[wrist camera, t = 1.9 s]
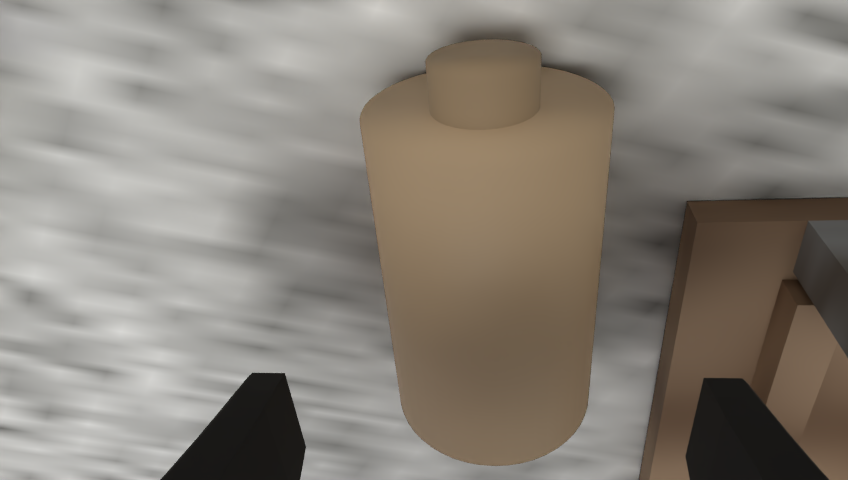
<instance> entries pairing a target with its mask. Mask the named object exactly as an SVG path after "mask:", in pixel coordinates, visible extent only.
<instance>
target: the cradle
mask: <svg viewBox="0 0 848 480" xmlns="http://www.w3.org/2000/svg"><path fill="white" fill-rule="evenodd" d="M704 378H743V379H744V380H745V381H746V382H747V383H748V384H749V385H750V387H751V388H752V389H753V390H754V392H755V393H756V394H757V395H758V396H759V398H760V399H761V400H762V401H763V403H764V404H765V405H766V406H767V407H768V409H769V410H770V411H771V412H772V414H773V415H774V416H775V417H776V418H777V420H778V421H779V422H780V423H781V424H782V426H783V427H784V428H785V429H786V430H787V432H788V433H789V434H790V435H791V436H792V438H793V439H794V440H795V441H796V442H797V443H798V445H799V446H800V447H801V448H802V449H803V450H804V452H805V453H806V454H807V455H808V456H809V457H810V459H811V460H812V461H813V462H814V463H815V464H816V465H817V467H818V468H819V469H820V470H821V471H822V472H823V473H824V474H825V475H826V477H827V478H828V479H829V480H848V198H820V199H774V200H729V201H687V206H686V211H685V217H684V223H683V229H682V235H681V240H680V246H679V252H678V258H677V263H676V269H675V275H674V281H673V287H672V292H671V298H670V304H669V310H668V315H667V321H666V327H665V333H664V339H663V344H662V350H661V356H660V362H659V368H658V373H657V379H656V385H655V391H654V396H653V402H652V408H651V414H650V420H649V425H648V431H647V437H646V443H645V448H644V454H643V460H642V466H641V472H640V477H639V480H690V478H689V473H688V468H687V462H686V457H685V456H686V452H687V447H688V443H689V439H690V434H691V430H692V426H693V422H694V417H695V413H696V409H697V404H698V400H699V396H700V392H701V387H702V383H703V379H704Z"/></svg>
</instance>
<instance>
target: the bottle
mask: <svg viewBox="0 0 848 480" xmlns="http://www.w3.org/2000/svg"><path fill="white" fill-rule="evenodd" d="M614 109H615V107H614V103H613V100H612V98H611V97H610V95H609V94H608V93H607V92H606V91H605V90H604V89H603V88H602V87H600V86H599V85H597V84H596V83H594V82H592V81H590V80H588V79H586V78H584V77H581V76H579V75H576V74H573V73H569V72H566V71H562V70H557V69H553V68H547V67H541V52H540V51H539V50H538V49H537V48H536V47H534V46H532V45H529V44H526V43H523V42H518V41H512V40H500V39H486V40H473V41H466V42H460V43H455V44H451V45H448V46H445V47H442V48H440V49H438V50H436V51H434V52H432V53H431V54H430V55H429V56H428V57H427V58H426V73H425V74H421V75H417V76H414V77H411V78H408V79H406V80H403V81H401V82H398V83H396V84H394V85H392V86H390V87H388V88H386V89H384V90H383V91H381V92H379V93H378V94H377V95H375V96H374V97H373V98H372V99H370V100H369V102H368V103H367V104H366V105H365V106H364V108H363V110H362V112H361V115H360V127H361V134H362V141H363V147H364V154H365V161H366V168H367V175H368V181H369V188H370V195H371V202H372V209H373V215H374V222H375V229H376V236H377V243H378V249H379V256H380V263H381V270H382V277H383V283H384V290H385V297H386V304H387V311H388V317H389V324H390V331H391V338H392V345H393V351H394V358H395V365H396V372H397V378H398V385H399V392H400V399H401V405H402V409H403V412H404V415H405V417H406V419H407V421H408V423H409V424H410V426H411V427H412V429H413V430H414V432H415V433H416V434H417V435H418V436H419V437H420V438H421V439H422V440H423V441H425V442H426V443H427V444H428V445H430V446H431V447H432V448H434V449H436V450H437V451H439V452H441V453H443V454H445V455H447V456H449V457H452V458H454V459H457V460H460V461H464V462H467V463H473V464H478V465H489V466H503V465H513V464H520V463H524V462H528V461H531V460H535V459H537V458H539V457H542V456H544V455H547V454H548V453H550V452H552V451H554V450H555V449H557V448H558V447H560V446H561V445H562V444H564V443H565V442H566V441H567V440H568V439H569V438H570V437H571V436H572V435H573V434H574V433H575V432H576V430H577V429H578V427H579V426H580V425H581V422H582V420H583V418H584V416H585V413H586V410H587V406H588V396H589V385H590V374H591V363H592V352H593V341H594V330H595V319H596V308H597V297H598V286H599V275H600V264H601V252H602V241H603V230H604V219H605V208H606V197H607V186H608V175H609V164H610V153H611V142H612V131H613V120H614Z"/></svg>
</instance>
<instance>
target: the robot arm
mask: <svg viewBox="0 0 848 480" xmlns="http://www.w3.org/2000/svg"><path fill="white" fill-rule="evenodd" d="M305 449H306V446H305V442H304V439H303V435H302V432H301V428H300V425H299V421H298V418H297V414H296V411H295V407H294V404H293V400H292V397H291V393H290V390H289V386H288V383H287V379H286V376H285V373H252V374H251V375H250V376H249V377H248V378H247V379H246V380H245V381H244V383H243V384H242V385H241V386H240V387H239V389H238V390H237V391H236V392H235V393H234V395H233V396H232V397H231V398H230V399H229V401H228V402H227V403H226V404H225V405H224V407H223V408H222V409H221V410H220V412H219V413H218V414H217V415H216V416H215V418H214V419H213V420H212V421H211V422H210V423H209V425H208V426H207V427H206V428H205V429H204V431H203V432H202V433H201V434H200V435H199V437H198V438H197V439H196V440H195V441H194V442H193V443H192V445H191V446H190V447H189V448H188V449H187V450H186V451H185V453H184V454H183V455H182V456H181V457H180V458H179V459H178V461H177V462H176V463H175V464H174V465H173V466H172V467H171V469H170V470H169V471H168V472H167V473H166V474H165V475H164V476H163V477H162V479H161V480H300V477H301V471H302V466H303V460H304V454H305ZM685 457H686V462H687V468H688V473H689V478H690V480H829V479H828V478H827V477H826V475H825V474H824V473H823V472H822V471H821V470H820V469H819V468H818V467H817V465H816V464H815V463H814V462H813V461H812V460H811V459H810V457H809V456H808V455H807V454H806V453H805V452H804V450H803V449H802V448H801V447H800V446H799V445H798V443H797V442H796V441H795V440H794V439H793V438H792V436H791V435H790V434H789V433H788V432H787V430H786V429H785V428H784V427H783V426H782V424H781V423H780V422H779V421H778V420H777V418H776V417H775V416H774V415H773V414H772V412H771V411H770V410H769V409H768V407H767V406H766V405H765V404H764V403H763V401H762V400H761V399H760V398H759V396H758V395H757V394H756V393H755V392H754V390H753V389H752V388H751V387H750V385H749V384H748V383H747V382H746V381H745V380H744V379H743V378H704V379H703V383H702V387H701V392H700V396H699V400H698V404H697V409H696V413H695V417H694V422H693V426H692V430H691V434H690V439H689V443H688V447H687V452H686V456H685Z"/></svg>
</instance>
